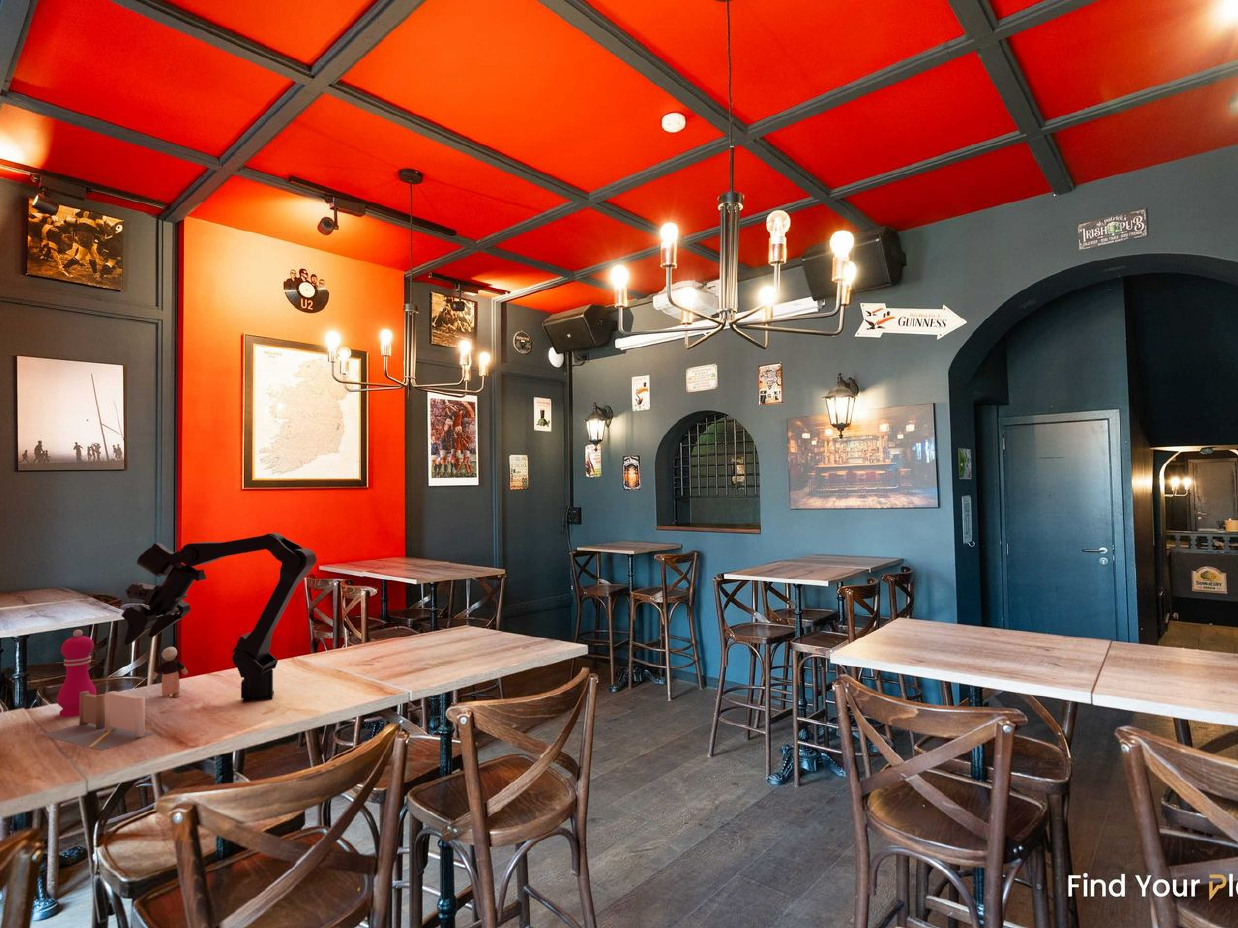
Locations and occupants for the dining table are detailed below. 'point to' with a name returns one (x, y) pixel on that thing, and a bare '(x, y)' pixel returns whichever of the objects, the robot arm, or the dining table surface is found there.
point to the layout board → (93, 726)
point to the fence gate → (125, 712)
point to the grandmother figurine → (170, 673)
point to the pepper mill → (75, 673)
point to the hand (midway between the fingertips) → (138, 640)
